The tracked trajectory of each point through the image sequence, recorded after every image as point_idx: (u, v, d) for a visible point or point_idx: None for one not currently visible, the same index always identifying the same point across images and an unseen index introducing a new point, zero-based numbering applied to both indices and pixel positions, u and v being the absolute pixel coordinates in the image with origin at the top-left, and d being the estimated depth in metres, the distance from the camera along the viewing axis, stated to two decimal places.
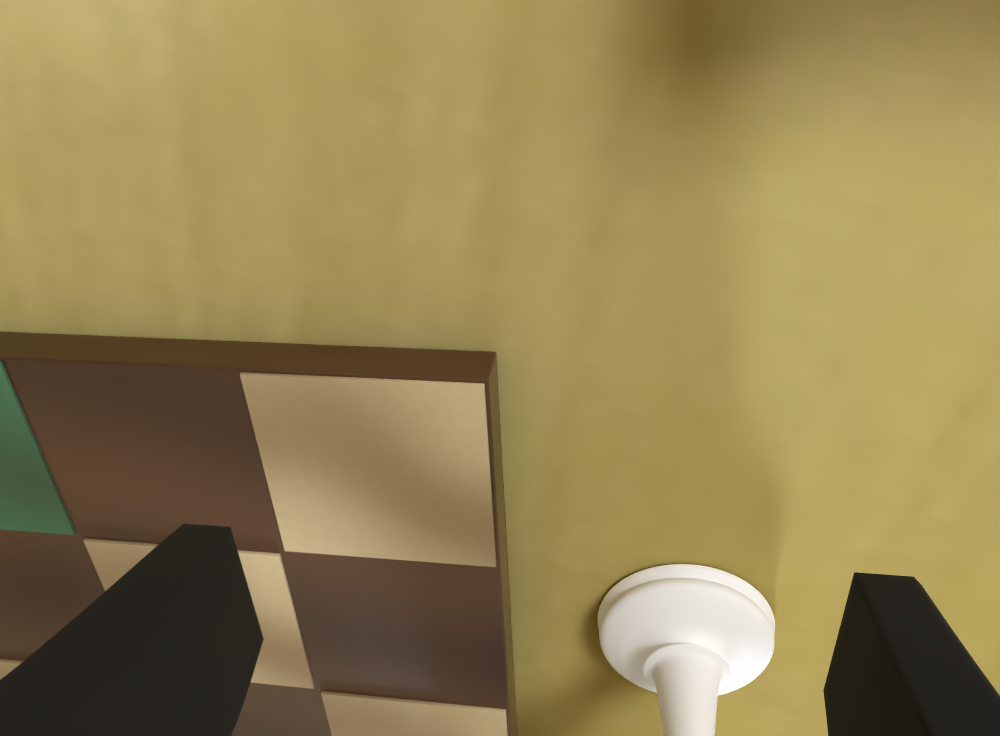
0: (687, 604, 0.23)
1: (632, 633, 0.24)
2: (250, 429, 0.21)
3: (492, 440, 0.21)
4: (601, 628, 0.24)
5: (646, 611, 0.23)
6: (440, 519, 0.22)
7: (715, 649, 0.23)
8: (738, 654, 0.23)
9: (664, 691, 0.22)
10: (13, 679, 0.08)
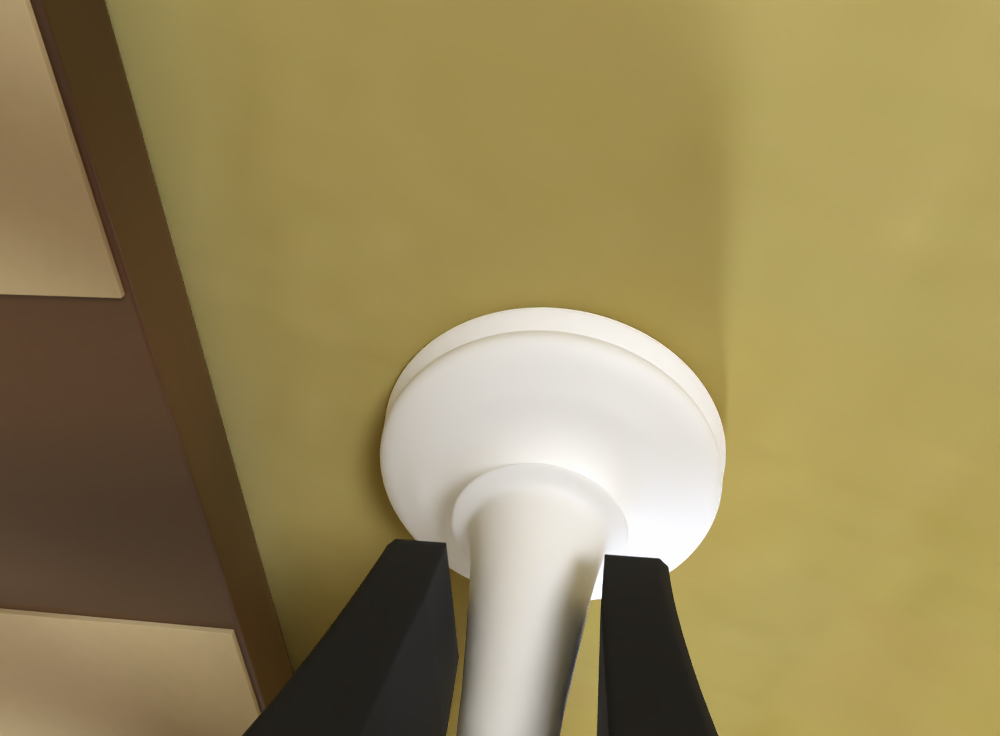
0: (534, 382, 0.11)
1: (432, 456, 0.12)
2: None
3: None
4: (380, 455, 0.12)
5: (454, 403, 0.11)
6: None
7: (596, 481, 0.11)
8: (647, 497, 0.11)
9: (477, 562, 0.10)
10: (284, 708, 0.08)
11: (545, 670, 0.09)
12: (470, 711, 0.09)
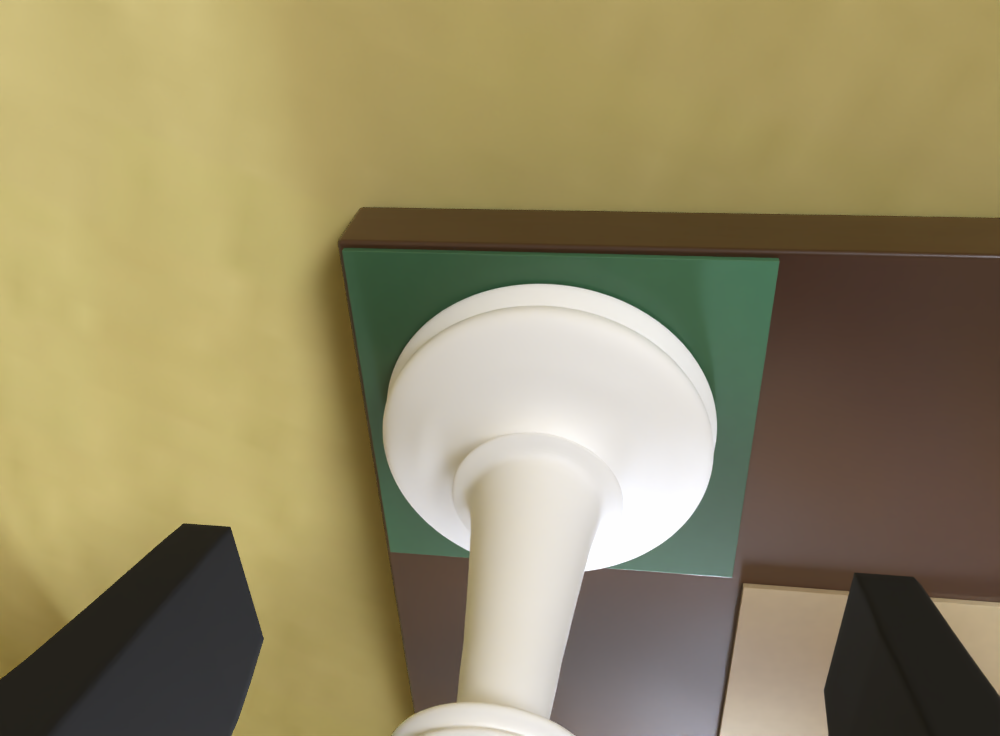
0: (531, 355, 0.11)
1: (433, 428, 0.12)
2: None
3: None
4: (383, 429, 0.13)
5: (454, 376, 0.12)
6: None
7: (591, 450, 0.11)
8: (641, 467, 0.12)
9: (478, 527, 0.11)
10: (13, 679, 0.08)
11: (543, 625, 0.09)
12: (471, 663, 0.09)
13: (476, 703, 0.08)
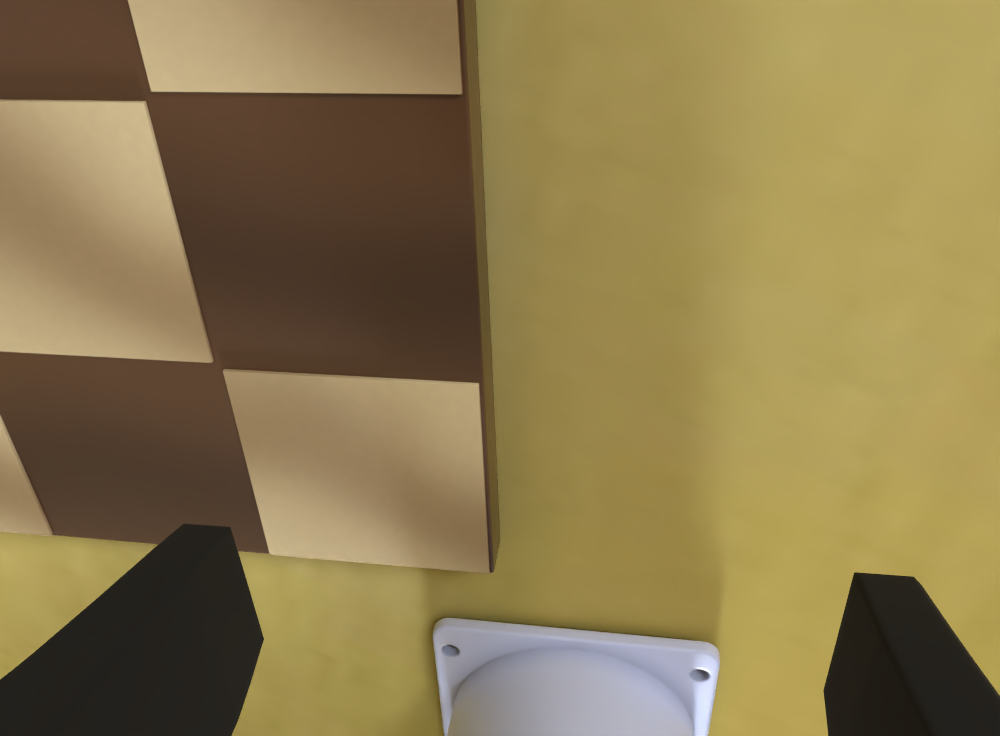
0: None
1: None
2: None
3: None
4: None
5: None
6: (377, 4, 0.15)
7: None
8: None
9: None
10: (14, 679, 0.08)
11: None
12: None
13: None
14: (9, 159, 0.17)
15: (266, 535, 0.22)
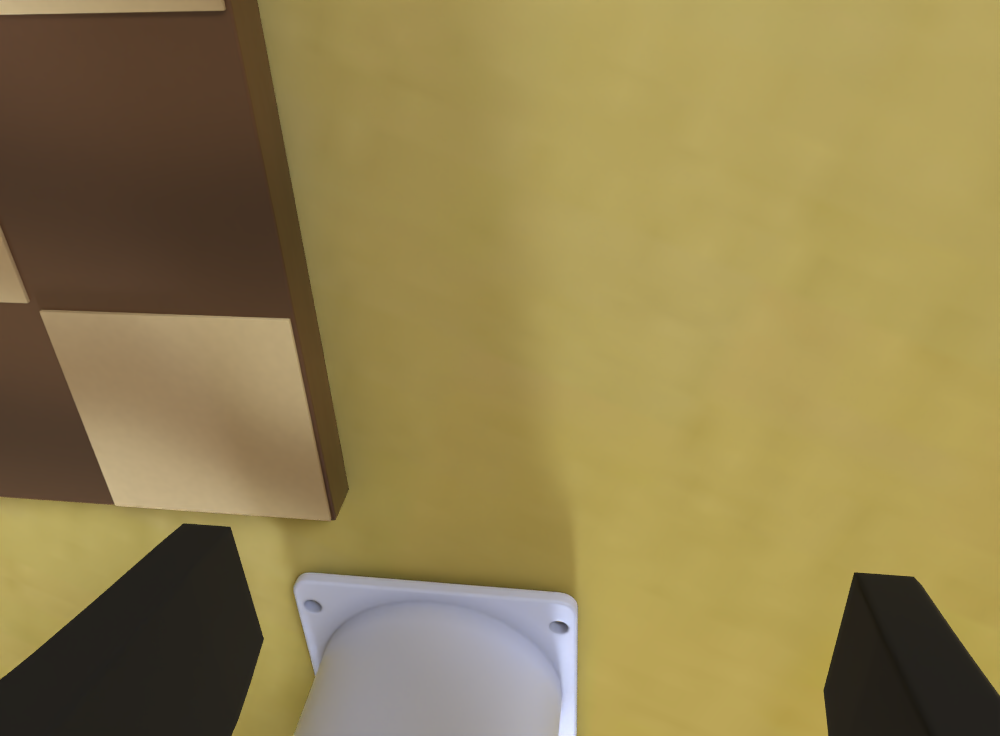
0: None
1: None
2: None
3: None
4: None
5: None
6: None
7: None
8: None
9: None
10: (13, 679, 0.08)
11: None
12: None
13: None
14: None
15: (108, 485, 0.22)
